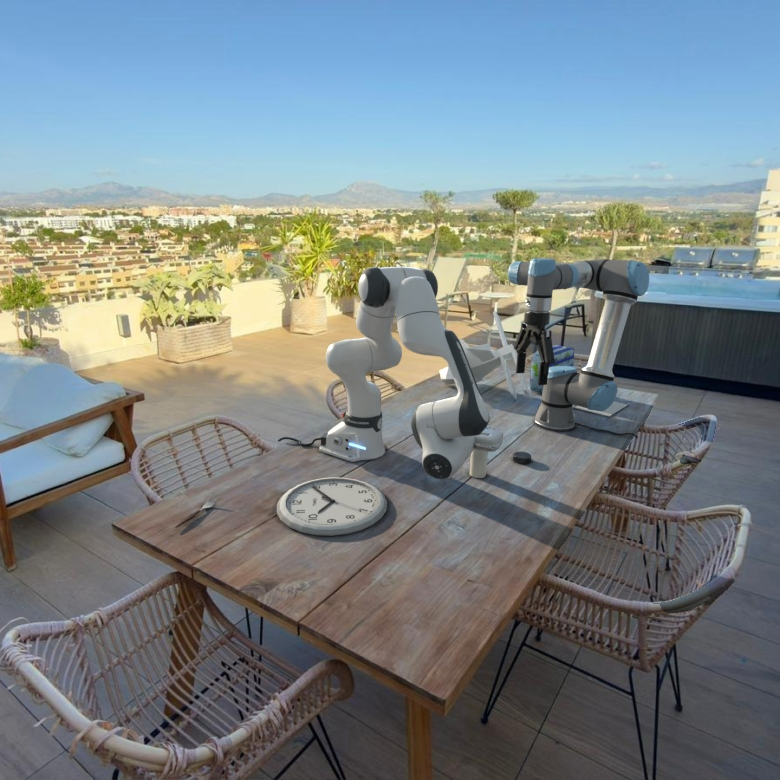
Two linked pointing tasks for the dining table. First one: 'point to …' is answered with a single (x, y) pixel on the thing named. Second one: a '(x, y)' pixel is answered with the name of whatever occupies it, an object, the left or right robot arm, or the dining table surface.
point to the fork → (206, 505)
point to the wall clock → (331, 506)
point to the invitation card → (609, 411)
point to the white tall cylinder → (478, 463)
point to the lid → (522, 457)
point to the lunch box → (562, 358)
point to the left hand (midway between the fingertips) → (471, 425)
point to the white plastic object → (488, 361)
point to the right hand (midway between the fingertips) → (530, 378)
